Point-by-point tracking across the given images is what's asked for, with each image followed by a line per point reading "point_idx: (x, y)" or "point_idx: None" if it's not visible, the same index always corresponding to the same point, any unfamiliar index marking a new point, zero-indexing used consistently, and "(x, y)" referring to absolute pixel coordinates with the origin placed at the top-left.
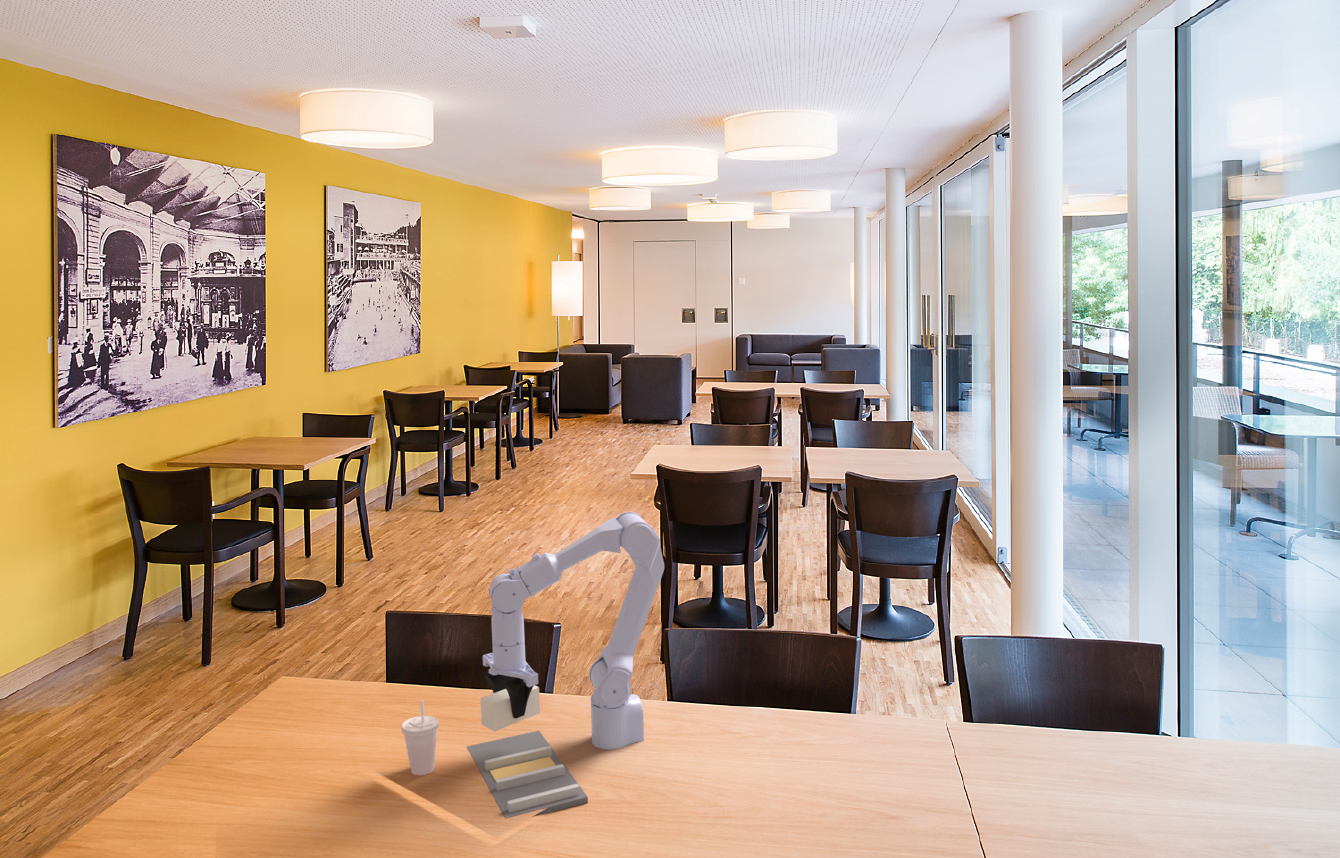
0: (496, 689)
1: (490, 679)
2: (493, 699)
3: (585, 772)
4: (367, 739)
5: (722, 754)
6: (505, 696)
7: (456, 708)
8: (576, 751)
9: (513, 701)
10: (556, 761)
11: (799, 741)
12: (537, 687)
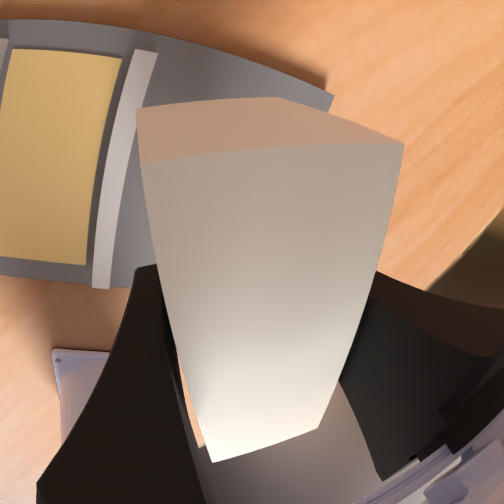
0: (382, 316)
1: (478, 352)
2: (282, 232)
3: (4, 302)
4: (488, 17)
5: (13, 443)
6: (245, 340)
7: (458, 198)
8: (111, 325)
9: (109, 362)
10: (54, 270)
11: (26, 476)
12: (217, 459)
